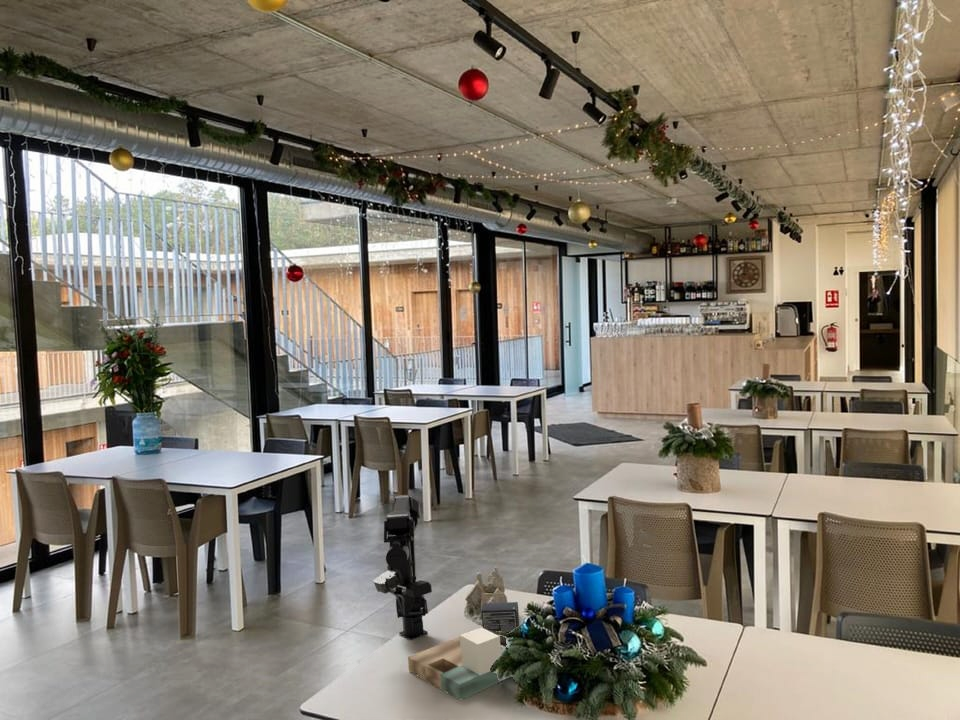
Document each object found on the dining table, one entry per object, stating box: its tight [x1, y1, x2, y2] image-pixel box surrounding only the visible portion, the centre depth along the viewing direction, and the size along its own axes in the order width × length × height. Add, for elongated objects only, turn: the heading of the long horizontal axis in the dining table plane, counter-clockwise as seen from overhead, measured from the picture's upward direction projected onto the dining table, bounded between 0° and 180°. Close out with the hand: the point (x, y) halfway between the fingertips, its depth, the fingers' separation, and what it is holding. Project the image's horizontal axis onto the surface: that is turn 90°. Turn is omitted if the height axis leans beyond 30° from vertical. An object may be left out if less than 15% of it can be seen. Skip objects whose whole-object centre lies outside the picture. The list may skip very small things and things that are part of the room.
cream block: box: [459, 626, 501, 675], centre depth 197 cm, size 8×7×8 cm
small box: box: [481, 601, 520, 646], centre depth 221 cm, size 11×6×10 cm, turn 84°
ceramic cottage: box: [463, 566, 508, 627], centre depth 240 cm, size 16×16×15 cm
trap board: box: [407, 636, 507, 701], centre depth 203 cm, size 23×22×4 cm
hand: (405, 615), depth 211 cm, fingers closed
